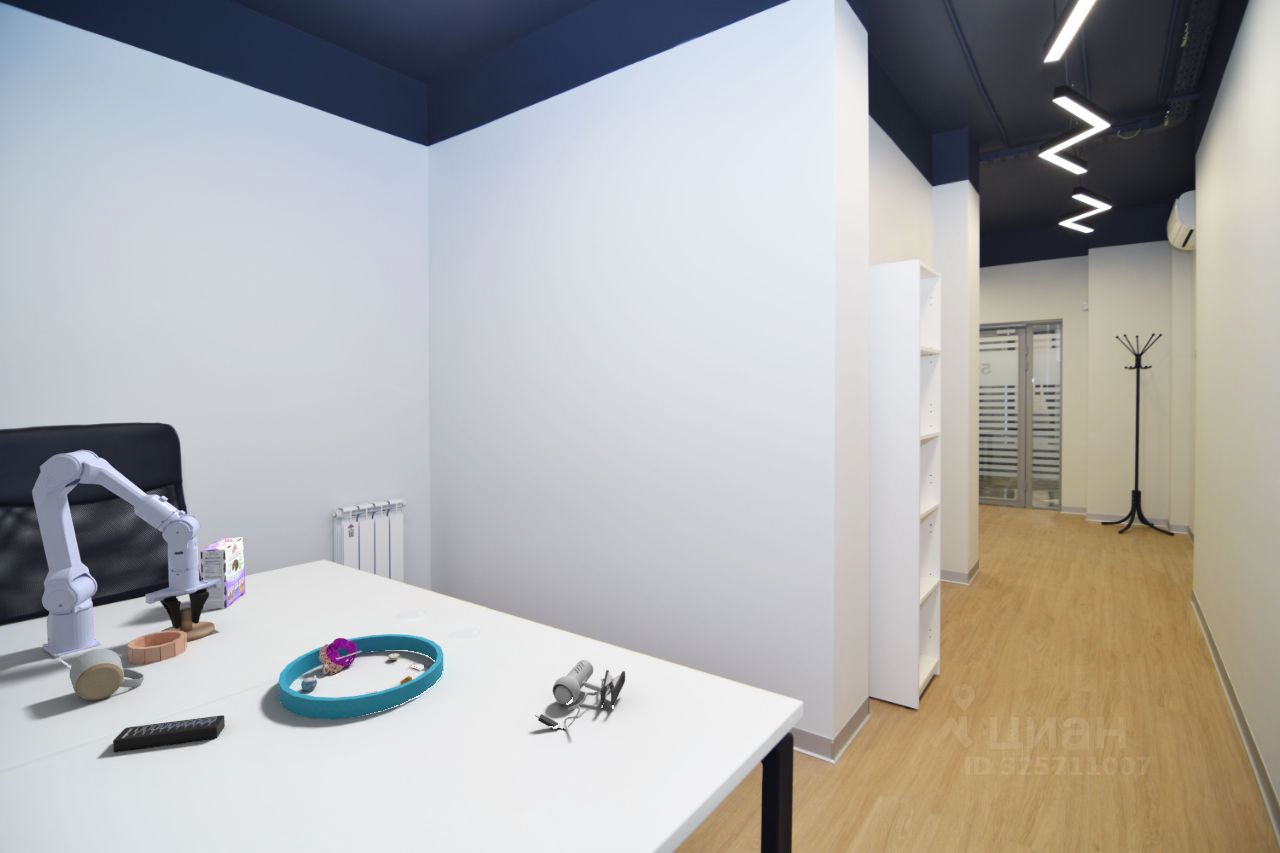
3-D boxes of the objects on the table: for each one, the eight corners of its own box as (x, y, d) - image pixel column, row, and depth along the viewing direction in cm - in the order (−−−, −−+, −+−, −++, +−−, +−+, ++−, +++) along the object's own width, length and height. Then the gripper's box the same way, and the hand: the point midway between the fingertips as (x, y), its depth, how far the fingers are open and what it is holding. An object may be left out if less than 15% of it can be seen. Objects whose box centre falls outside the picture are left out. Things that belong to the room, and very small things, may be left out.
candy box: (222, 595, 177) (220, 537, 176) (246, 593, 178) (244, 536, 177) (201, 612, 163) (198, 549, 162) (226, 610, 165) (224, 548, 164)
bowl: (121, 657, 136) (120, 641, 135) (175, 642, 144) (174, 627, 144) (139, 669, 130) (139, 652, 130) (194, 652, 139) (194, 636, 138)
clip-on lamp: (583, 755, 106) (630, 688, 121) (582, 725, 104) (630, 660, 119) (525, 732, 110) (578, 670, 126) (523, 703, 109) (577, 643, 124)
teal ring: (381, 640, 147) (380, 616, 146) (474, 671, 131) (473, 643, 131) (246, 694, 121) (245, 664, 120) (342, 739, 106) (341, 705, 105)
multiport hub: (216, 741, 105) (216, 727, 105) (112, 755, 100) (111, 741, 100) (225, 727, 109) (225, 714, 109) (126, 740, 105) (125, 727, 105)
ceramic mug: (74, 708, 114) (73, 667, 114) (69, 693, 120) (68, 654, 119) (147, 689, 122) (147, 650, 122) (140, 676, 127) (139, 639, 127)
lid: (148, 636, 146) (147, 611, 146) (202, 622, 155) (201, 598, 155) (168, 647, 140) (167, 621, 140) (223, 631, 149) (222, 607, 149)
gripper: (153, 578, 138) (156, 639, 139) (225, 563, 150) (227, 619, 151) (140, 573, 142) (143, 632, 143) (212, 559, 154) (214, 613, 155)
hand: (185, 625), depth 147 cm, fingers open, 3 cm apart
